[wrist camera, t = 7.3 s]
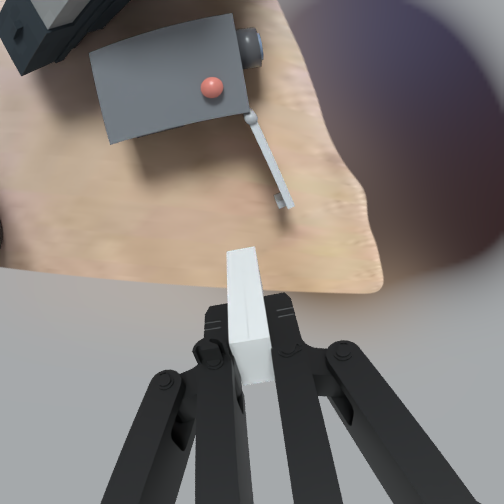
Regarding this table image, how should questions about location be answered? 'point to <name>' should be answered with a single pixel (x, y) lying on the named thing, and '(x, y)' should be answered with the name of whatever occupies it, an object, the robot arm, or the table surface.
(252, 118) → the door
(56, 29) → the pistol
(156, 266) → the table surface
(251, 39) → the camera body
